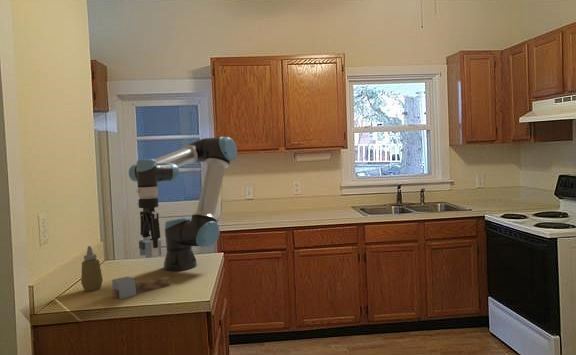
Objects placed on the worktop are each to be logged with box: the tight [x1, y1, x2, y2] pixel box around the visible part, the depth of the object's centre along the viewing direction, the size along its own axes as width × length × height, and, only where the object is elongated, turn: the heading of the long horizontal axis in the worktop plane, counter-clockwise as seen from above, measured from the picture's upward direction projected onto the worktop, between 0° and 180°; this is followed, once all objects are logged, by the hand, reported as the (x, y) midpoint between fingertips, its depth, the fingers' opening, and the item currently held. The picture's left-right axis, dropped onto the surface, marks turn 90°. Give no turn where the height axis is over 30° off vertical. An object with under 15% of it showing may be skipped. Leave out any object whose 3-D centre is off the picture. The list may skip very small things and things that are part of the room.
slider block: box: [112, 275, 137, 300], centre depth 175 cm, size 7×7×6 cm
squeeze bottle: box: [80, 245, 104, 293], centre depth 186 cm, size 8×8×18 cm
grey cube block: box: [138, 238, 162, 259], centre depth 183 cm, size 7×7×6 cm
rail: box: [111, 276, 171, 300], centre depth 180 cm, size 22×3×4 cm, turn 130°
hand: (151, 254), depth 184 cm, fingers closed on grey cube block, 7 cm apart
